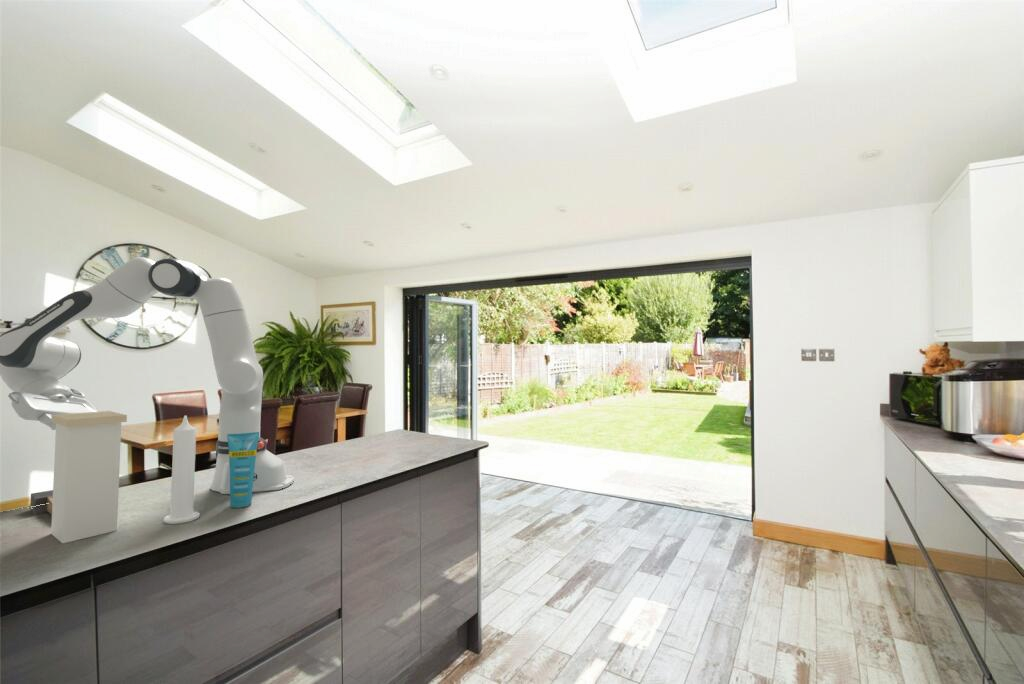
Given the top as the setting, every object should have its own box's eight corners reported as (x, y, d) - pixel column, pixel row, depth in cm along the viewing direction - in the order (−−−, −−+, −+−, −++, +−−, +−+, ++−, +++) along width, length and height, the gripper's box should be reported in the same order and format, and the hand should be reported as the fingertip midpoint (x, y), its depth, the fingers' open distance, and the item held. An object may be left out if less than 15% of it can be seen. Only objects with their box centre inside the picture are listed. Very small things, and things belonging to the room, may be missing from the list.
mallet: (88, 505, 112) (87, 521, 112) (68, 487, 123) (67, 502, 123) (48, 513, 107) (47, 530, 107) (30, 493, 117) (29, 509, 117)
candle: (195, 512, 117) (199, 412, 118) (202, 519, 112) (205, 415, 113) (161, 518, 112) (165, 415, 113) (166, 526, 107) (170, 418, 108)
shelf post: (46, 532, 103) (51, 414, 103) (104, 520, 111) (109, 410, 112) (61, 545, 96) (66, 419, 97) (122, 531, 104) (126, 415, 105)
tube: (224, 510, 119) (227, 435, 120) (224, 505, 123) (226, 432, 124) (257, 505, 123) (260, 432, 124) (256, 500, 127) (258, 430, 128)
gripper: (15, 381, 119) (46, 416, 116) (88, 393, 139) (116, 423, 136) (-6, 400, 118) (25, 436, 115) (71, 410, 137) (99, 440, 135)
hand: (75, 429), depth 126 cm, fingers open, 8 cm apart
